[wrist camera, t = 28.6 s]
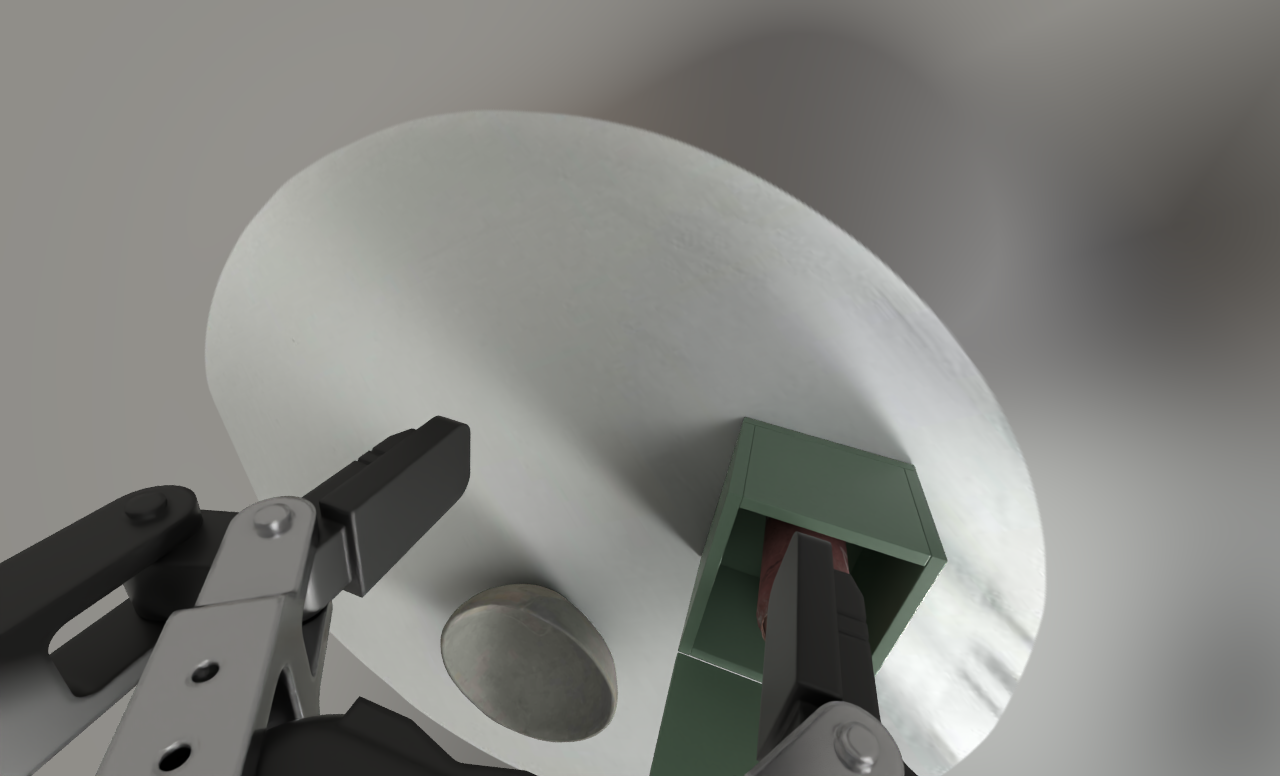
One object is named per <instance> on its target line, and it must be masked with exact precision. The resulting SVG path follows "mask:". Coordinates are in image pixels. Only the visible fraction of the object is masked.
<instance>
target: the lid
mask: <svg viewBox="0 0 1280 776" xmlns="http://www.w3.org/2000/svg"><path fill="white" fill-rule="evenodd" d="M761 692H762V684H760V683H758V682H755V681H752V680H750V679H747V678H745V677H742V676H739V675H737V674H734V673H731V672H729V671H726V670H723V669H721V668H718V667H716V666H713V665H710V664H708V663H705V662H702V661H700V660H697V659H694V658H692V657H689V656H687V655H684V654H681V653H677V657H676V660H675V664H674V669H673V673H672V678H671V682H670V687H669V691H668V695H667V700H666V704H665V709H664V713H663V717H662V722H661V726H660V731H659V735H658V739H657V744H656V748H655V753H654V757H653V762H652V766H651V770H650V775H649V776H744V775H745V774H746V773H747V772H748V771H750V770H751V769H752V768H753V767H754V766H755V765H756V764H757V763H758V762H760V761H758V760H756V758H757V745H758V731H759V718H760V705H761Z"/></svg>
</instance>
